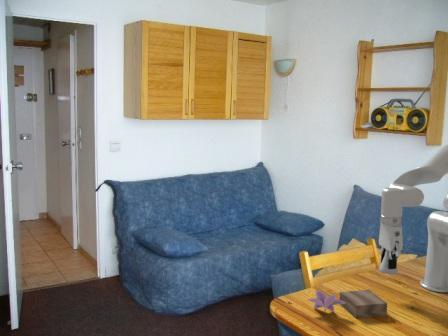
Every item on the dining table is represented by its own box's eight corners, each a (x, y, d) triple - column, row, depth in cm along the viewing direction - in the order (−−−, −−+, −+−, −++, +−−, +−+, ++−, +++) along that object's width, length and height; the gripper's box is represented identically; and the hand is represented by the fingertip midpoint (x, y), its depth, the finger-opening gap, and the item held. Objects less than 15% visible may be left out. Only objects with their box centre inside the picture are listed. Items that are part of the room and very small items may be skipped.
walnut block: (368, 302, 177) (369, 289, 176) (386, 316, 165) (387, 303, 164) (339, 304, 174) (340, 291, 173) (355, 319, 162) (356, 305, 161)
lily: (349, 321, 162) (347, 292, 166) (334, 318, 154) (332, 288, 157) (318, 321, 169) (317, 294, 173) (302, 319, 161) (301, 290, 164)
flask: (395, 268, 184) (396, 243, 182) (400, 275, 177) (401, 249, 175) (376, 267, 184) (377, 243, 183) (380, 274, 177) (381, 249, 176)
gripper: (412, 225, 170) (409, 273, 172) (388, 214, 186) (386, 258, 189) (393, 226, 168) (390, 275, 171) (371, 215, 185) (369, 259, 188)
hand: (388, 265), depth 180 cm, fingers closed on flask, 4 cm apart
